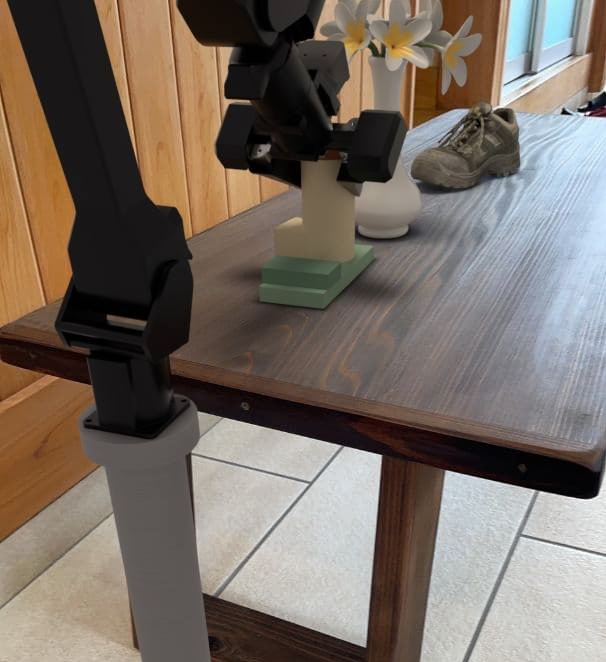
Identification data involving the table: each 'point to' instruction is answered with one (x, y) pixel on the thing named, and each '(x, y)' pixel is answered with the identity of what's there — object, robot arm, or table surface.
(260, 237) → the table surface
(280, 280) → the green stepped slab
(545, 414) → the table surface
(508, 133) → the hiking shoe
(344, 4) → the flower vase
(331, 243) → the brown-capped cream cylinder
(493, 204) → the table surface
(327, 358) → the table surface
